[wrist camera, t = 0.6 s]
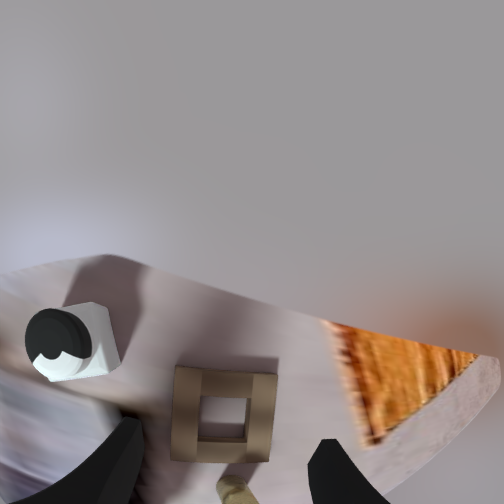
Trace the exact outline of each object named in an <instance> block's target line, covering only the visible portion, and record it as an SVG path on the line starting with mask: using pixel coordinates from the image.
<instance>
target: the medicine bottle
mask: <svg viewBox="0 0 504 504" xmlns="http://www.w3.org/2000/svg"><path fill="white" fill-rule="evenodd" d="M25 346H26V351H27V354H28V356H29V359H30V361H31V362H32V364H33V365H34V367H35V368H36V369H37V370H38V371H39V372H40V373H42V374H43V375H45V376H46V377H48V379H49V380H50V381H52V382H54V381H63V380H71V379H78V378H85V377H92V376H98V375H104V374H108V373H110V372H112V371H113V370H114V369H116V368H117V367H119V366H120V365H121V362H120V358H119V355H118V351H117V347H116V343H115V339H114V335H113V330H112V326H111V322H110V317H109V312H108V309H107V308H106V307H104V306H101V305H99V304H96V303H94V302H87V303H82V304H76V305H71V306H66V307H61V308H56V309H52V308H50V309H44V310H41V311H39V312H36V313H35V315H34V316H33V317H32V318H31V320H30V322H29V323H28V326H27V329H26V333H25Z"/></svg>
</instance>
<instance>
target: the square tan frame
mask: <svg viewBox="0 0 504 504" xmlns="http://www.w3.org/2000/svg"><path fill="white" fill-rule="evenodd" d="M277 380H278V375H277V374H274V373H260V372H241V371H226V370H214V369H204V368H194V367H185V366H177V365H175V377H174V390H173V405H172V424H171V449H170V457H171V460H173V461H184V462H200V463H258V462H269V455H270V447H271V438H272V429H273V420H274V411H275V401H276V391H277ZM200 395H202V396H215V397H232V398H247V403H246V414H245V424H244V435H243V438H233V437H204V436H198V421H199V407H200Z"/></svg>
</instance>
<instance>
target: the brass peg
mask: <svg viewBox="0 0 504 504" xmlns="http://www.w3.org/2000/svg"><path fill="white" fill-rule="evenodd" d="M216 490H217V492H218V495H219V497H220V500H221V502H222V504H259V503H258V501H257V500H256V498H255V497H254V495H253V493H252V492H251V490H250V489H249V487H248V486H247V484H246V482H245V481H244V479H243V478H241V477H239V476H236V475H229V476H225V477H223V478H221V479H220V480H219V481H218V482H217V484H216Z"/></svg>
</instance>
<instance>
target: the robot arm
mask: <svg viewBox="0 0 504 504" xmlns="http://www.w3.org/2000/svg"><path fill="white" fill-rule="evenodd" d="M144 449H145V445H144V439H143V433H142V427H141V420H137V419H133V418H130V417H124V418H123V419H122V421H121V422H120V423H119V424H118V426H117V427H116V428H115V429H114V431H113V432H112V433H111V434H110V435H109V436H108V438H107V439H106V440H105V441H104V442H103V443H102V444H101V445H100V446H99V447H98V448H97V449H96V450H95V451H94V452H93V453H92V454H91V455H90V456H89V457H88V458H87V459H86V460H85V461H84V462H83V463H81V464H80V465H79V466H78V467H77V468H76V469H74V470H73V471H72V472H71V473H69V474H68V475H66V476H65V477H64V478H62V479H61V480H59V481H58V482H56V483H54V484H53V485H51V486H49V487H48V488H46V489H44V490H42V491H40V492H38V493H36V494H34V495H31V496H29V497H27V498H24V499H22V500H19V501H16V502H13V503H9V504H128V502H129V499H130V496H131V493H132V491H133V488H134V485H135V482H136V479H137V476H138V473H139V471H140V468H141V463H142V459H143V454H144ZM308 478H309V487H310V491H311V496H312V500H313V504H390V503H389V502H388V501H387V500H386V499H385V498H384V497H383V496H382V495H381V494H380V493H379V492H378V491H377V490H376V489H375V488H374V487H373V486H372V485H371V484H370V483H369V482H368V481H367V479H366V478H365V477H364V476H363V474H362V473H361V472H360V471H359V470H358V468H357V467H356V466H355V464H354V463H353V462H352V460H351V459H350V458H349V456H348V455H347V454H346V452H345V451H344V449H343V448H342V446H341V445H340V444H339V442H338V441H337V440H336V439H322V440H321V442H320V444H319V446H318V447H317V449H316V451H315V453H314V454H313V456H312V458H311V459H310V461H309V463H308Z"/></svg>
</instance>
